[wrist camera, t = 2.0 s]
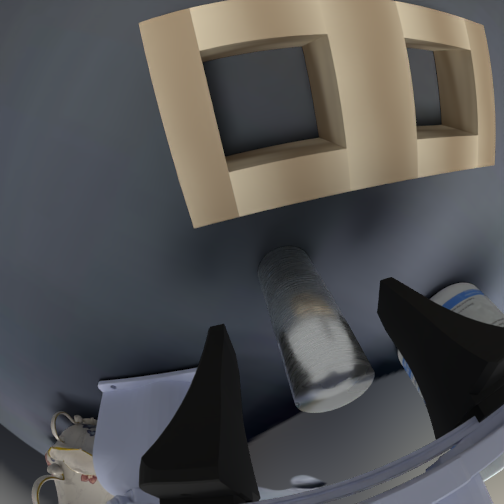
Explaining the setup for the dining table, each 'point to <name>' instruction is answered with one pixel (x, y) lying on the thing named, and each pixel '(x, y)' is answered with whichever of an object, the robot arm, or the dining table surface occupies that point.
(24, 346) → the dining table surface
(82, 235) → the dining table surface
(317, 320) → the peg
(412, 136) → the hole block
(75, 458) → the chinaware
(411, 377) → the supplement tub
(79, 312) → the dining table surface
